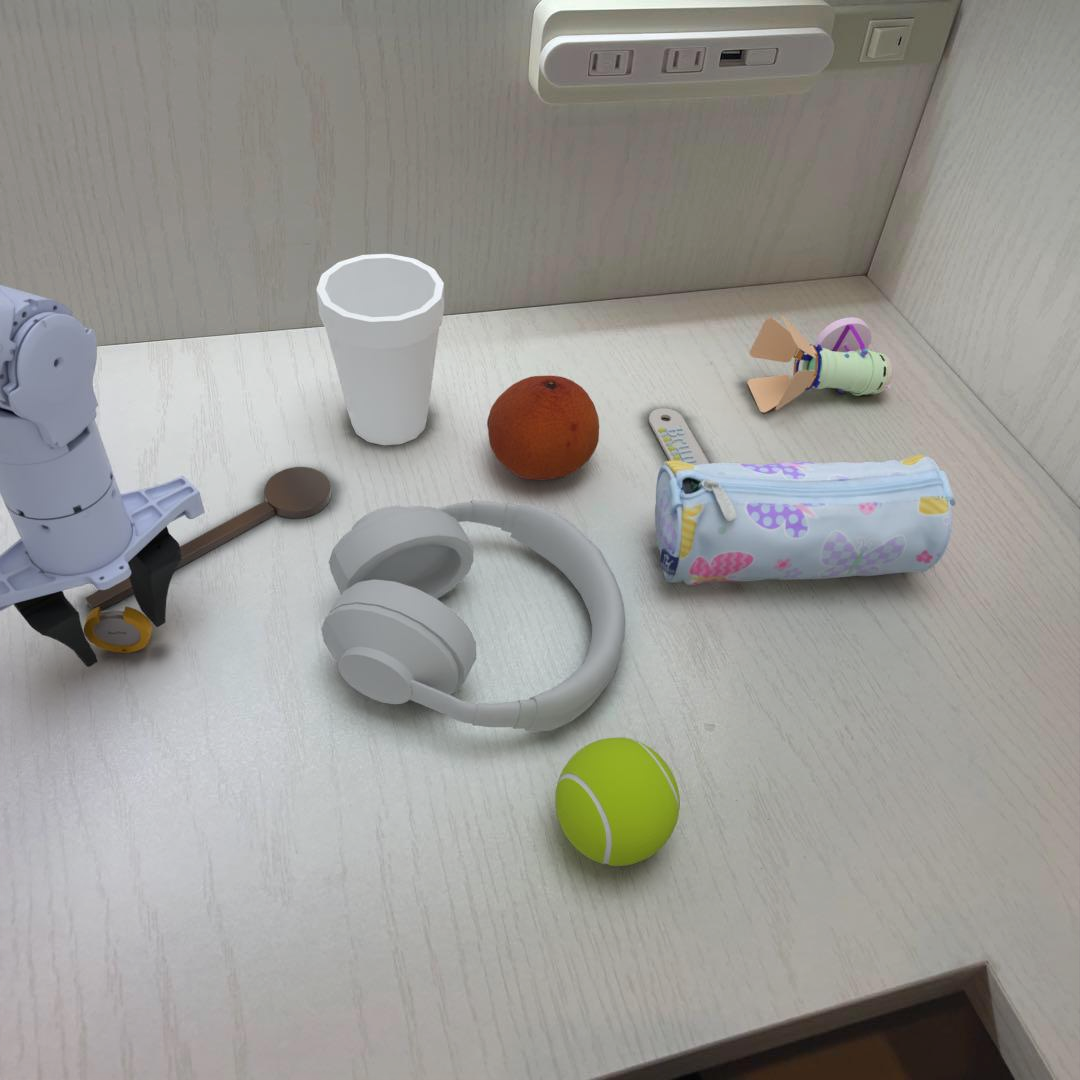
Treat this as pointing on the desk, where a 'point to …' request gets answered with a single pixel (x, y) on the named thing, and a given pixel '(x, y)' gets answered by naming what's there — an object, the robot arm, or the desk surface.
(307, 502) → the spoon
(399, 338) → the foam cup
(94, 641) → the tracker
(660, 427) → the keychain
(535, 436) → the fruit
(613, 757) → the tennis ball
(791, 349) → the spotlight
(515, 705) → the headphones
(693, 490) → the pencil case
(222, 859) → the desk surface
